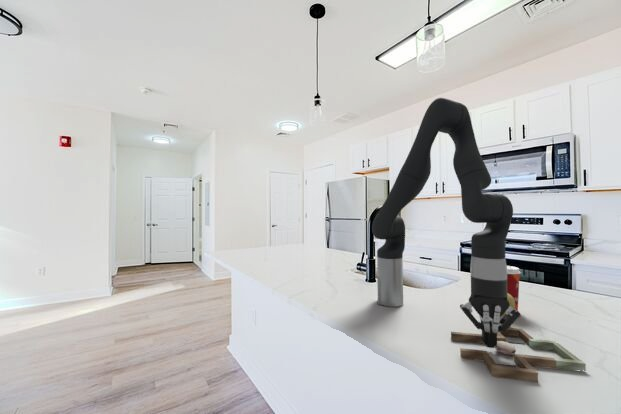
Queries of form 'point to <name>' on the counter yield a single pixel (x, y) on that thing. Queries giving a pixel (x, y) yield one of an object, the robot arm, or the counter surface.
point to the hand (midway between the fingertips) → (489, 346)
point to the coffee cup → (513, 283)
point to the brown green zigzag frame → (520, 355)
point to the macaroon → (505, 348)
